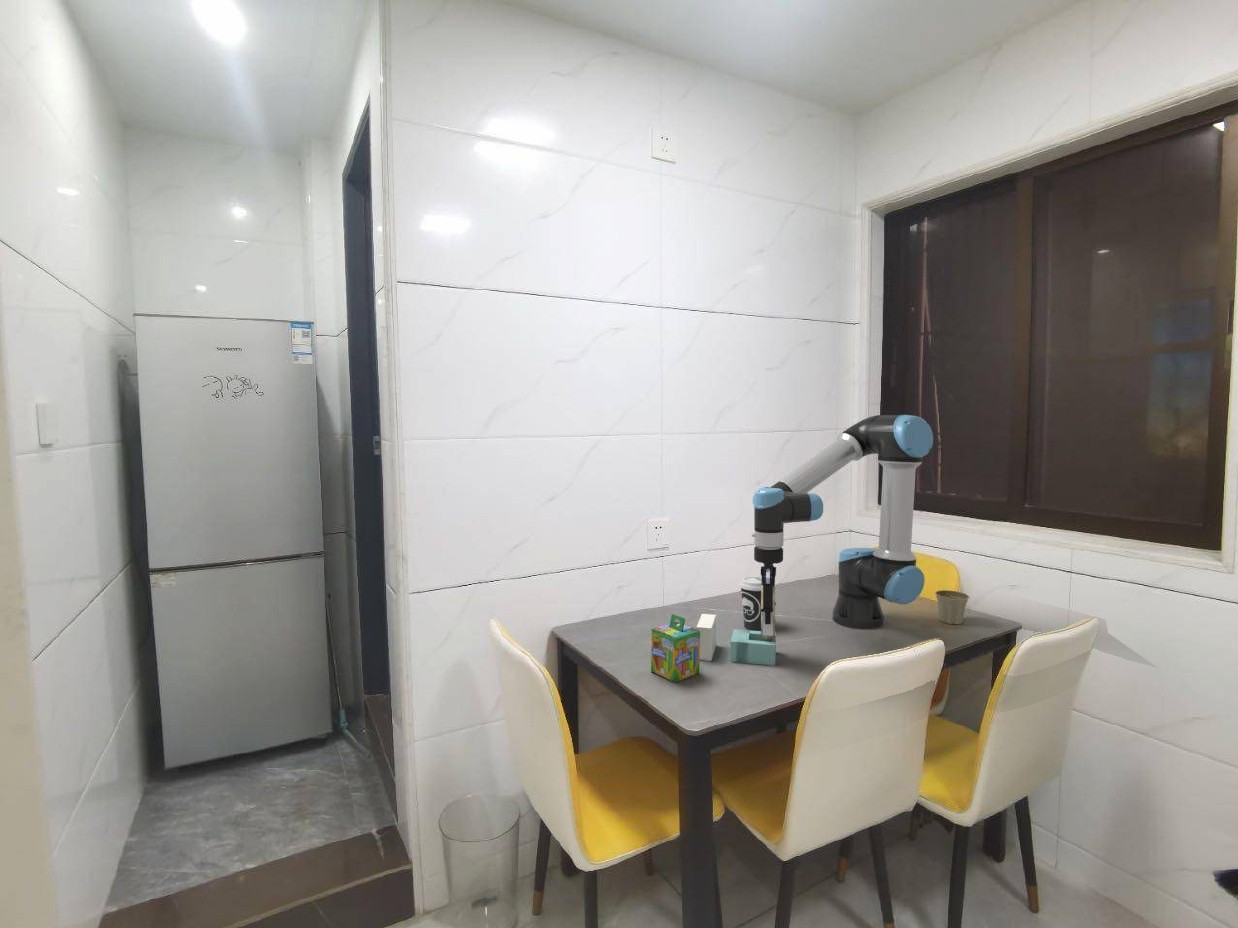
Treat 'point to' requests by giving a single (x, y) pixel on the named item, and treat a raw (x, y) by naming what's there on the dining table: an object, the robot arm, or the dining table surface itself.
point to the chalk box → (675, 650)
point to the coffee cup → (751, 602)
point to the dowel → (772, 638)
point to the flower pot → (951, 605)
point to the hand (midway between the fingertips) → (767, 631)
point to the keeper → (752, 648)
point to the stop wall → (707, 636)
